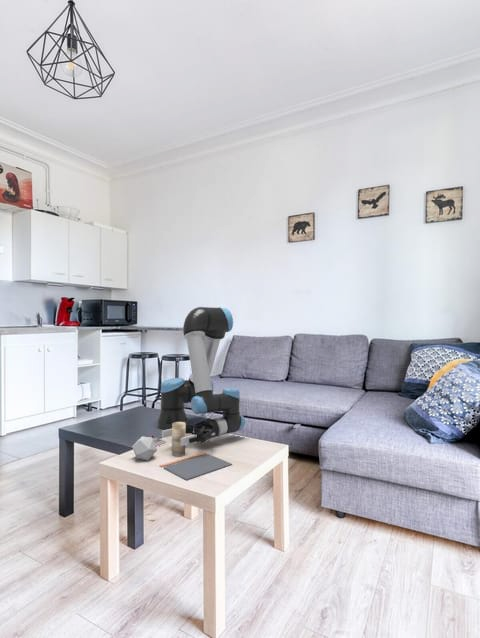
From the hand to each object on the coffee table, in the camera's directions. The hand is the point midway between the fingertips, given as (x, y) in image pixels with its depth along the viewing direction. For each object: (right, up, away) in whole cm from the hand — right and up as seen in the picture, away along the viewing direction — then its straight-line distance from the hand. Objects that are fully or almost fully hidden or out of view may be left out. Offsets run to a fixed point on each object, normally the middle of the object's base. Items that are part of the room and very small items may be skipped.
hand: (171, 438), depth 142 cm
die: (-10, -7, -2) cm, 12 cm away
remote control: (-11, -8, +16) cm, 21 cm away
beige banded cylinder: (+3, -7, +2) cm, 8 cm away
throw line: (+6, -7, -4) cm, 10 cm away
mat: (+12, -7, -10) cm, 17 cm away
